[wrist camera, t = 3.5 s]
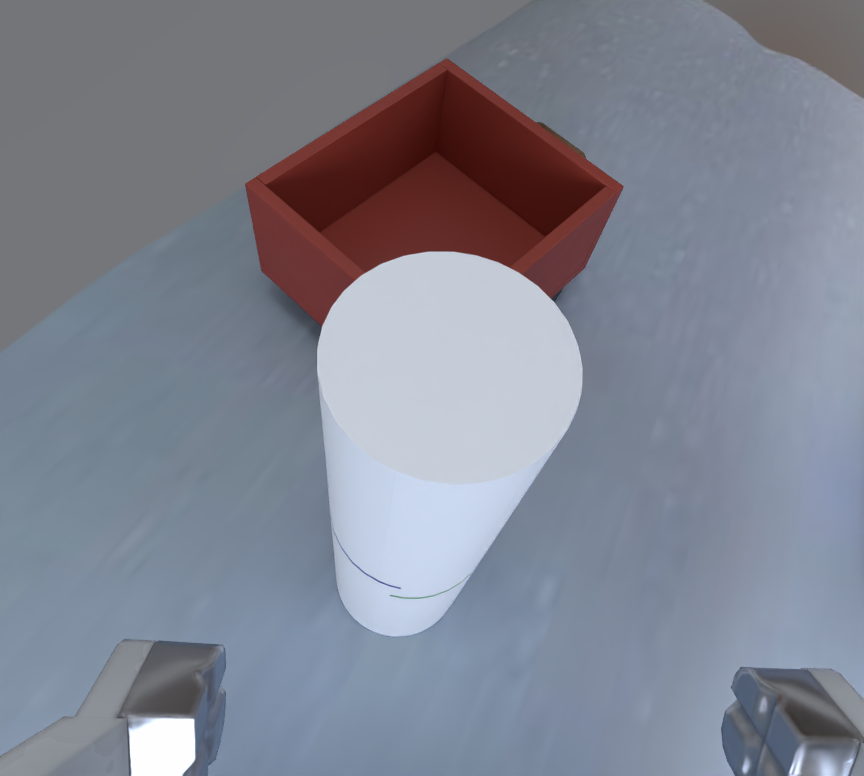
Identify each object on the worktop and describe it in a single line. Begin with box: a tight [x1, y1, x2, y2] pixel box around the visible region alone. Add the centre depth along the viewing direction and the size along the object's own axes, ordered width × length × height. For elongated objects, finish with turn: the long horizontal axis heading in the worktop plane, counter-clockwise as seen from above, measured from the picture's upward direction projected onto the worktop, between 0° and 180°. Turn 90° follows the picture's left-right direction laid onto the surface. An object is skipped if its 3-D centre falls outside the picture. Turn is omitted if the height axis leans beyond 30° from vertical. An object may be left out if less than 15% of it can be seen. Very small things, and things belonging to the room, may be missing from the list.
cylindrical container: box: [317, 252, 583, 637], centre depth 30 cm, size 7×7×25 cm
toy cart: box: [245, 59, 623, 326], centre depth 46 cm, size 22×15×11 cm, turn 136°
